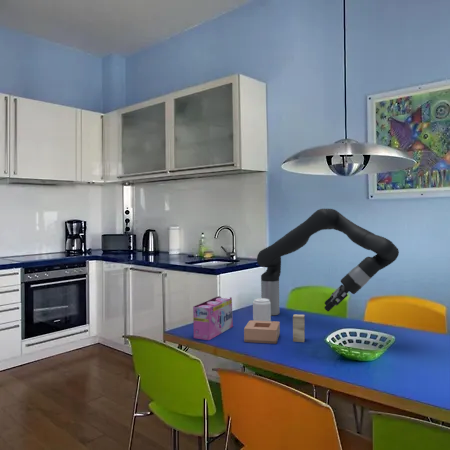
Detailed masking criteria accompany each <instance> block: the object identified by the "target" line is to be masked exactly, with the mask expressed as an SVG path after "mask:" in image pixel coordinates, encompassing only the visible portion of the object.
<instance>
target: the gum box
mask: <svg viewBox="0 0 450 450" xmlns="http://www.w3.org/2000/svg"><path fill="white" fill-rule="evenodd" d="M232 300H233V299H232V297H231V296H230V297H229V298H228V297H222V296H220V295H219V296H215V297H212V298H211V299H208V300H206V301H203V302H201V303H199V304H196V305H193V306H192V309H193V310H192V318H193V321H192V322H193V324H192V325H193V339H199V340H205V341H210V340H212V339H214V338H216V337H218V336H219V335H221V334H223V333H224V332H226V331H228V330H229V329H231V328H233V327H234V322H233V320H234V319H233V318H234V317H233V301H232Z"/></svg>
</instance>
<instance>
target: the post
mask: <svg viewBox="0 0 450 450" xmlns="http://www.w3.org/2000/svg"><path fill="white" fill-rule="evenodd" d="M305 323H306V322H305V314H293V316H292V342H298V343H305V339H306V338H305V337H306V334H305V331H306V330H305V326H306V325H305Z"/></svg>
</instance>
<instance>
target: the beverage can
mask: <svg viewBox="0 0 450 450" xmlns="http://www.w3.org/2000/svg"><path fill="white" fill-rule="evenodd" d="M271 316H272V315H271V303H270V301H269V299H266V298H261V297H260V298H254V299H253V302H252V320H254V321H272V319H271V318H272V317H271Z"/></svg>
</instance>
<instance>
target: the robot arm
mask: <svg viewBox="0 0 450 450" xmlns="http://www.w3.org/2000/svg"><path fill="white" fill-rule="evenodd" d="M324 230H334V231H335V230H336V231H339V232H341V233H343V234H344V235H346V236H347V238H348V239H350V241H351V242H352V243H354V244H356V245H358V246H359V247H361V248H363V249H364V250H366V251H367V250H368V251H371V252H374V254H375V255H373V256H366V257H364V259H362V260H361V262H359V263H358V264H357V265H356V266H355V267H353V268H352V269H351V270H350V271H349V272H348V273H346V274H345V275H344V277H342V278H341V279H340V283H341V285H339V287H337V288H336V289H335V290H334V291H333V292H331V295H330V297H328V298H327V299H326V300H325V301H324V304H325V306H324V310H325V311H326V312H330V311H331V310H332V309H333V308H334V307H336V306H339V304H341V302H342V301H344V300H345V299H346V298H347V297H348V296H349V294H348V293H351V294H353V295H355V294H356V293H358V292H359V291H360V290H361V289H362V288H363V287H364V286H365V285H366V284H367V283H369V281H370V280H371V279H372V278H373V277H374V276H375V275H376V274H377V273H378V272H379V271H381V270H382V269H384V268H386V267H388V266H389V265H390V266H391V264H392V263H394V262H395V261H396V260H397V258H398V257H399V253H400V250H399V248H398V247H397V245H395V244H394V243H393V241H391V240H390V239H388V238H387V237H384V236H382V235H378V234H375V233H373V232H371V231H370V230H368V229H365V228H363V227H361V226H359V225H358V224H356V223H354V222H352V221H351V220H350V219H348V218H346V216H344V215H343V214H342V213H340V212H339V211H338V210H336V209H335V208H334V209H333V208H320V209H317V210H316V211H315V212H313V213H312V214H311V215H309V217H308V218H307V219H305V220H304V221H303V222H302V223H300V224H299V225H298V226H296V227H295V228H293V229H291V230H290V231H288V232H287V233H286V234H284V235H283V236H282V237H280V238H279V239H278V240H277V241H275V242H273V243H272V244H270V245H269V246H267V247H265V248H263V249H262V250H260V251H259V252H258V254H257V256H256V262H257V264H258V265H259V266H260V267H262V268H267V269H266V270H265V271H264V272H263V273H262V274H261V275H260V287H261V288H260V289H261V290H260V291H261V292H260V293H261V294H260V295H261V296H260V298H266V299H269V301H270V303H271V316H277V315H280V276H281V273H282V271H281V270H282V267H281V266H282V257H284V256H286V255H289V254H291V253H295V252H297V251H298V250H300V249H301V248H302V247H304V246H306V244H307V243H308V242H309V240H310V238H311V236H313V235H315V234H317V233H318V232H321V231H324Z"/></svg>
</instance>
